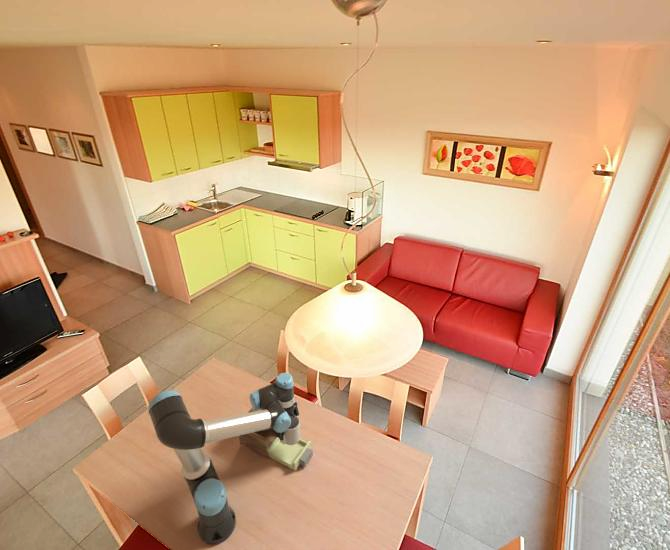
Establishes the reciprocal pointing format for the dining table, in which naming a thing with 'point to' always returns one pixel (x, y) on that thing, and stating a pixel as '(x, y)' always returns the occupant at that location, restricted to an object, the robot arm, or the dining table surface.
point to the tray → (291, 453)
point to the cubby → (258, 440)
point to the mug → (293, 431)
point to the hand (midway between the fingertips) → (288, 435)
